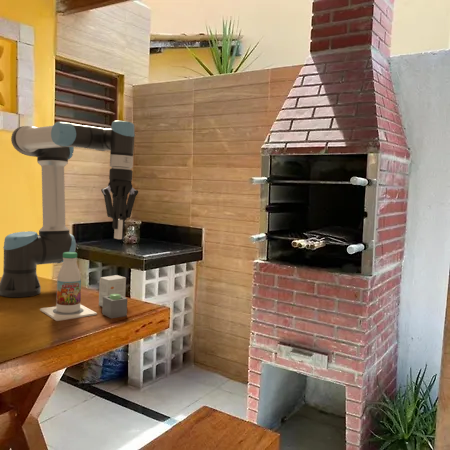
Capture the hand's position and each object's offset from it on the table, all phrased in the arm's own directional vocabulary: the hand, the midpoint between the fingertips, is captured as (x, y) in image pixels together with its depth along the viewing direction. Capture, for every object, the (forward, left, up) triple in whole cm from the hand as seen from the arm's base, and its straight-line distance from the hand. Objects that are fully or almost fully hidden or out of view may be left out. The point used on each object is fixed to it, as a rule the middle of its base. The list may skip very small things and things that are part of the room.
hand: (118, 238), depth 156 cm
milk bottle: (-10, -12, -26) cm, 30 cm away
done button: (0, 0, -25) cm, 25 cm away
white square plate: (-10, -12, -26) cm, 31 cm away
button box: (0, 0, -26) cm, 26 cm away
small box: (-11, +5, -27) cm, 29 cm away
